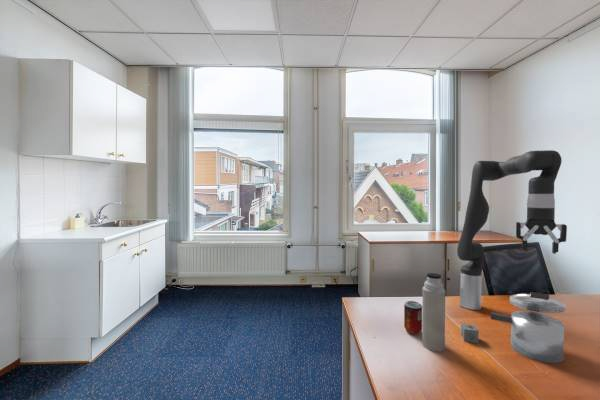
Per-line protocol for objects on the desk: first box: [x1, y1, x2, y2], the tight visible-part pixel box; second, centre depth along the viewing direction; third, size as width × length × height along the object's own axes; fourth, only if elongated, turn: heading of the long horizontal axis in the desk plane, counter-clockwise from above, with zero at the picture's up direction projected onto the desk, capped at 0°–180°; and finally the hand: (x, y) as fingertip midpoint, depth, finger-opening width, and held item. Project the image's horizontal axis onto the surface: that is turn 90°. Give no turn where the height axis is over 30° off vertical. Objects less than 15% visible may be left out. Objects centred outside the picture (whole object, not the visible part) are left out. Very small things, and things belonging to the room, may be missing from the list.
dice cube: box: [460, 322, 479, 344], centre depth 113 cm, size 5×5×5 cm
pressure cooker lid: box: [509, 291, 566, 314], centre depth 105 cm, size 16×18×2 cm
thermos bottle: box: [421, 272, 446, 352], centre depth 108 cm, size 8×8×28 cm
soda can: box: [403, 300, 422, 336], centre depth 120 cm, size 7×7×12 cm
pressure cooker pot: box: [490, 310, 565, 364], centre depth 107 cm, size 22×17×12 cm
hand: (539, 251), depth 101 cm, fingers open, 7 cm apart
